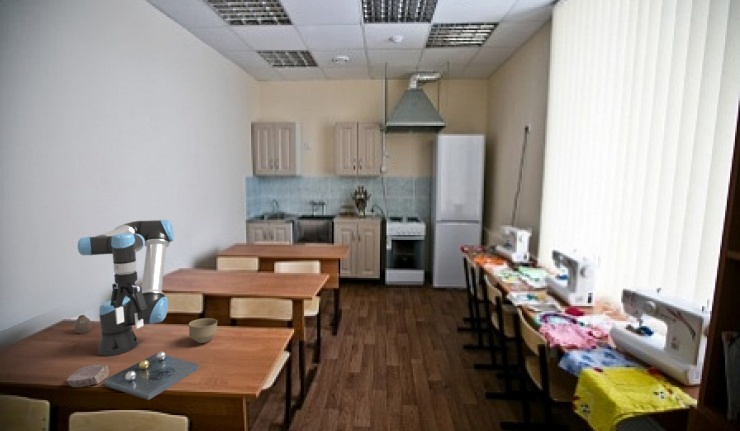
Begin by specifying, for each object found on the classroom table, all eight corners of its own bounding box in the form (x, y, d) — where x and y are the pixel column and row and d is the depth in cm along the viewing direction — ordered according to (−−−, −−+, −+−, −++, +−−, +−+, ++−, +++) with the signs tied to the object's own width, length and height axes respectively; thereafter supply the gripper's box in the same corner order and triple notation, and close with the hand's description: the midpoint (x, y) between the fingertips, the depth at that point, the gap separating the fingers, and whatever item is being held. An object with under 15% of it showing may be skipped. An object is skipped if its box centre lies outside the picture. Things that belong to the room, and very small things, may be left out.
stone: (81, 375, 143) (80, 364, 142) (111, 374, 144) (111, 364, 143) (63, 388, 134) (62, 377, 133) (96, 388, 135) (95, 376, 134)
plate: (104, 385, 135) (104, 379, 135) (157, 358, 156) (157, 353, 156) (148, 400, 127) (148, 393, 126) (198, 369, 147) (198, 363, 147)
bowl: (223, 339, 174) (222, 319, 173) (199, 350, 163) (198, 329, 162) (208, 333, 181) (207, 314, 180) (184, 343, 170) (183, 323, 169)
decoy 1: (154, 361, 149) (154, 353, 148) (162, 357, 152) (161, 349, 152) (160, 362, 147) (160, 354, 147) (168, 358, 151) (167, 350, 150)
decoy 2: (123, 381, 134) (122, 373, 133) (132, 376, 137) (131, 368, 137) (129, 383, 133) (129, 374, 132) (138, 378, 136) (138, 370, 135)
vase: (71, 334, 180) (69, 317, 179) (83, 328, 187) (82, 312, 186) (82, 335, 179) (80, 318, 178) (95, 329, 186) (93, 313, 185)
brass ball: (137, 370, 142) (136, 361, 141) (145, 365, 145) (145, 357, 145) (143, 371, 141) (142, 363, 140) (151, 367, 144) (151, 359, 143)
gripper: (96, 271, 142) (101, 324, 144) (136, 277, 133) (140, 333, 136) (115, 267, 149) (120, 317, 151) (155, 272, 140) (158, 325, 143)
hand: (129, 324), depth 144 cm, fingers open, 11 cm apart
